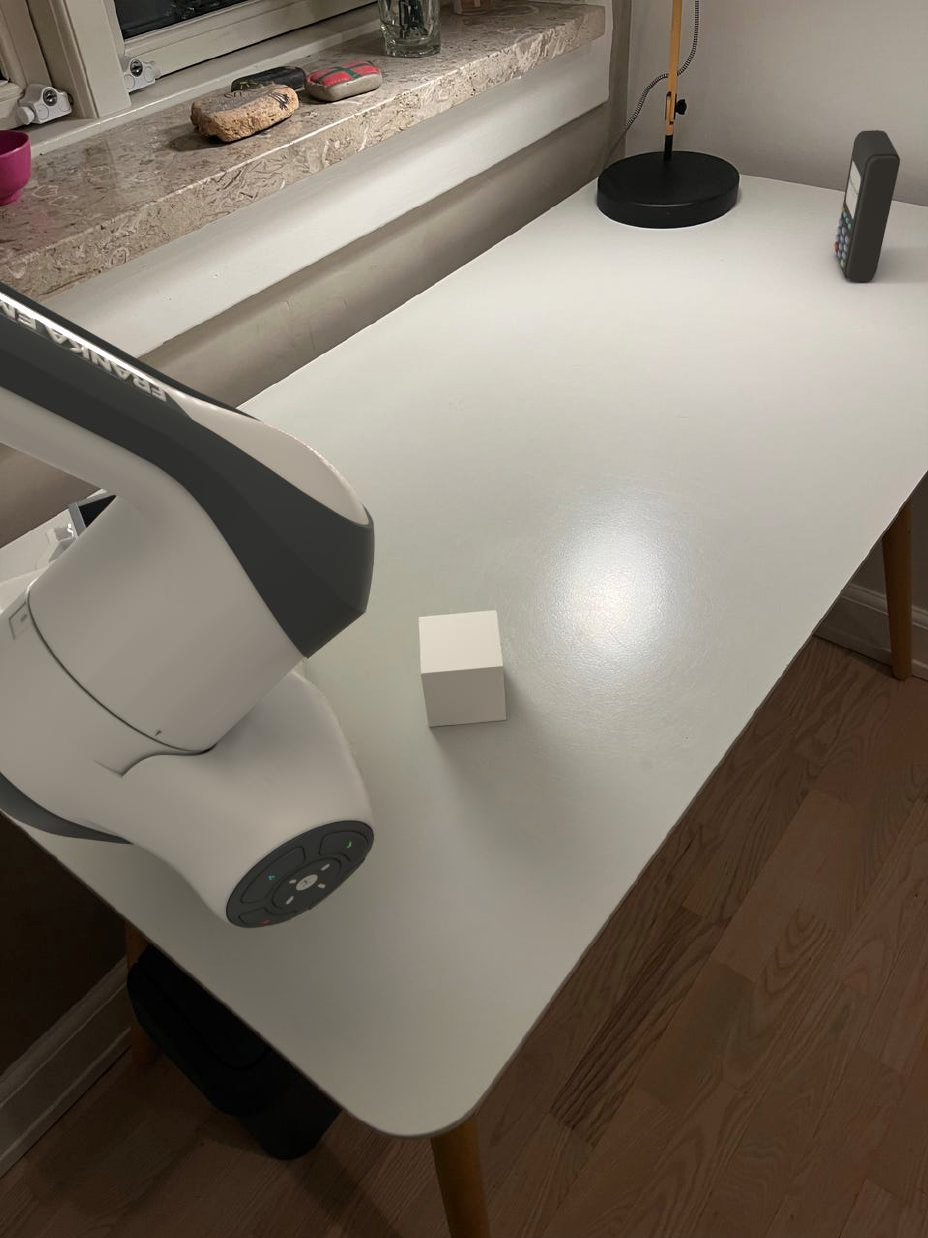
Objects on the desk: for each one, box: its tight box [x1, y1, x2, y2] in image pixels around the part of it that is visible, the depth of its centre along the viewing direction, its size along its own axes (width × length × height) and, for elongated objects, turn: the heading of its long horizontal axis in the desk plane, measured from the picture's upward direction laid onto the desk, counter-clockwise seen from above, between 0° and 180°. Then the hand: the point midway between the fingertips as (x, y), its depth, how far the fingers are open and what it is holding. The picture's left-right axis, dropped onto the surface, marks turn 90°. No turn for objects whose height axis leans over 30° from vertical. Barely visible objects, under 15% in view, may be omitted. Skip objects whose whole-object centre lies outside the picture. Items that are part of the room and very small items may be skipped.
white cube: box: [418, 609, 507, 728], centre depth 79 cm, size 6×6×6 cm
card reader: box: [833, 129, 901, 282], centre depth 123 cm, size 9×4×15 cm, turn 174°
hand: (138, 510), depth 63 cm, fingers open, 8 cm apart
